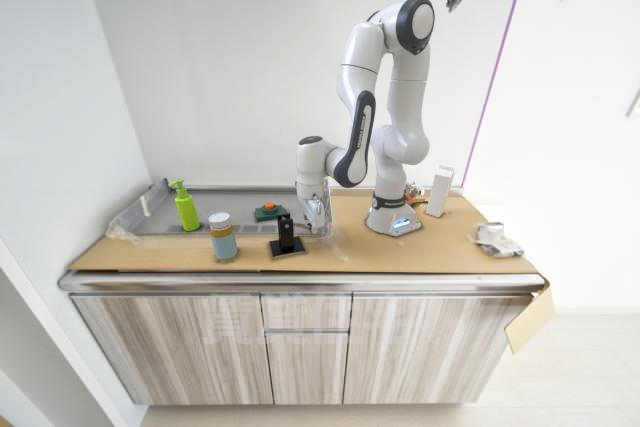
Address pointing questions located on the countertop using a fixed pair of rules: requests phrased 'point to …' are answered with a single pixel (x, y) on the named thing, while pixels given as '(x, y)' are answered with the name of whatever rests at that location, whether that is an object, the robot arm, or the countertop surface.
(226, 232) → the bottle
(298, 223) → the lever
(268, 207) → the button
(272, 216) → the button block
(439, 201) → the milk
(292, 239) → the bracket
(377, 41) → the robot arm
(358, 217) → the countertop surface
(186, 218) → the soap dispenser
